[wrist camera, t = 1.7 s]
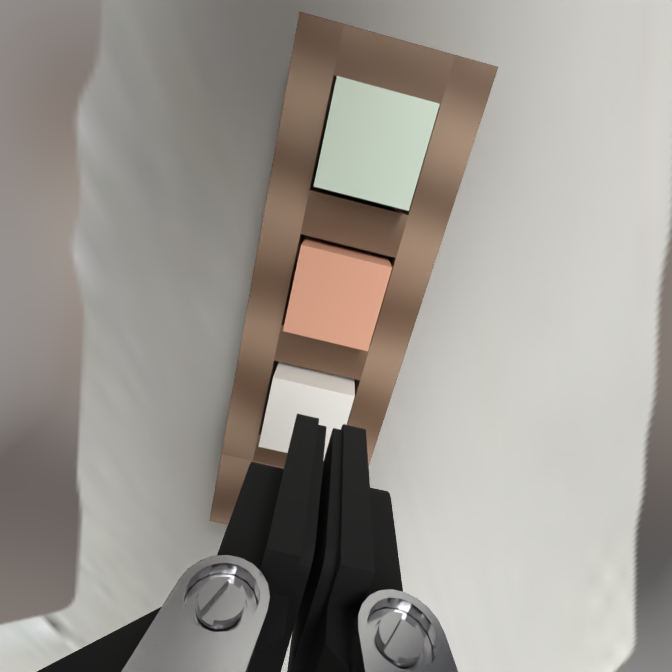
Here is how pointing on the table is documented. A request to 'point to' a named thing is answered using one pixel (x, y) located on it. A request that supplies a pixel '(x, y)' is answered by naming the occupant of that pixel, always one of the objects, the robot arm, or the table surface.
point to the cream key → (304, 403)
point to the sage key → (374, 143)
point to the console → (346, 229)
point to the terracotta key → (337, 293)
